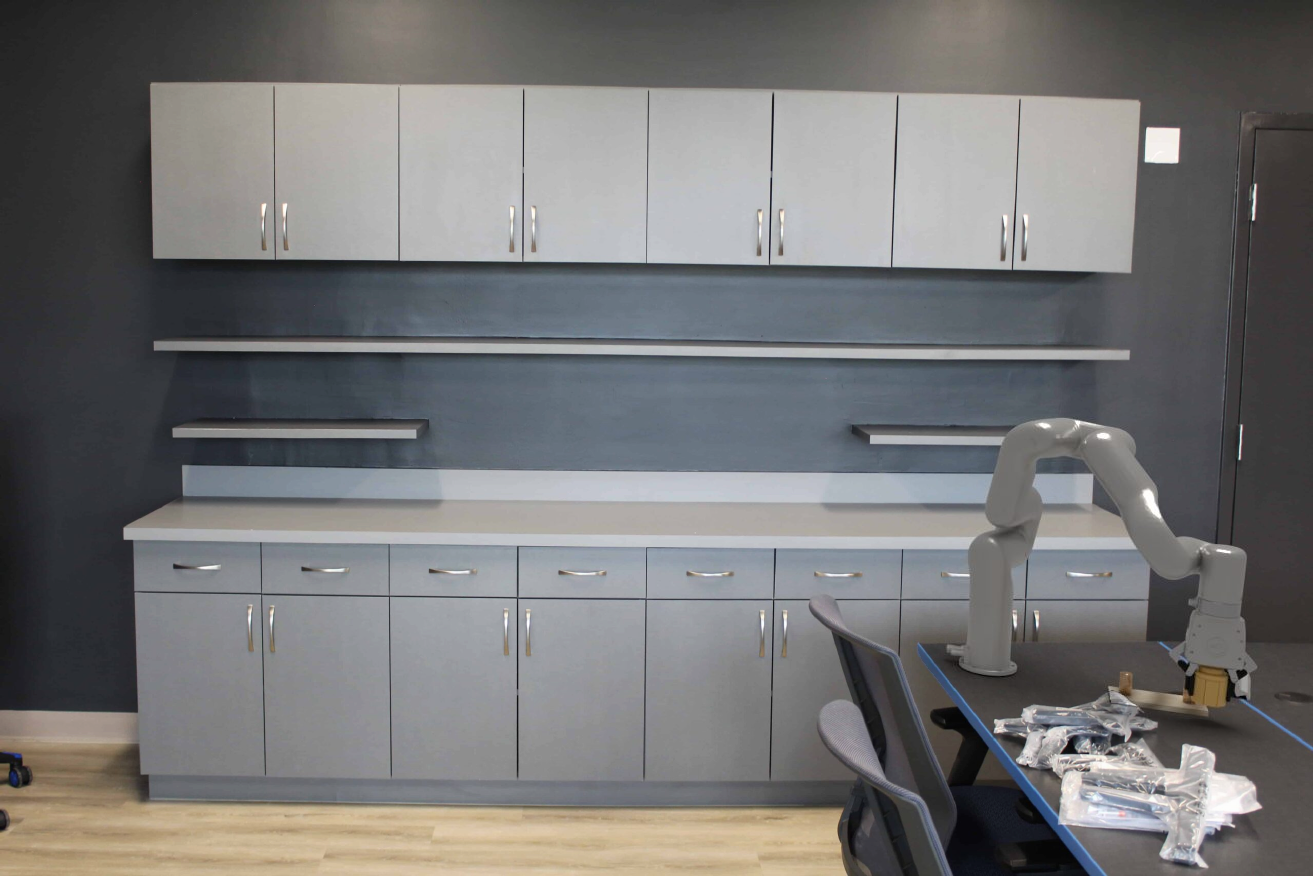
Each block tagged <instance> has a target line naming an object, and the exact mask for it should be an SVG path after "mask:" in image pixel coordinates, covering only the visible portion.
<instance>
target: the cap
mask: <svg viewBox="0 0 1313 876" xmlns="http://www.w3.org/2000/svg"><path fill="white" fill-rule="evenodd" d="M1228 676H1229V675H1228V674H1227V673H1226V672H1224V669H1223V668H1216V667H1209V666H1202V665H1198V666H1197V668H1196V669H1195V671H1194V677H1195V684H1194V693H1193V696H1191V699H1192V701H1194V702H1196V703H1199V704H1201V705H1205V706H1206V707H1211V708H1222V707H1226V703H1227V701H1226V693H1227V685H1228Z"/></svg>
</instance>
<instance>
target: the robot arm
mask: <svg viewBox="0 0 1313 876" xmlns="http://www.w3.org/2000/svg"><path fill="white" fill-rule="evenodd" d="M1136 452H1137V446H1136V442H1135V439H1134V438H1133V437H1132V435H1131V434H1130V433H1129V432H1127V431H1125V430H1123V429H1121V428H1119V427H1113V426H1108V425H1102V424H1098V423H1094V422H1089V421H1088V422H1087V421H1084V420H1080V419H1073V418H1070V417H1055V418H1043V419H1035V420H1031V421H1026V422H1024V423H1020V424H1017V425H1016V426H1015V427H1014V428H1012V429H1010V431H1008V433H1007V434H1006V435H1005V437H1004V438H1003V440H1002V442H1001V446H1000V449H999V452H998V456H997V461H996V466H995V468H994V472H993V475H992V478H991V483H990V485H989V489H988V493H987V497H986V501H985V505H984V514H985V518H986V520H987V521H988V522H989V524H991V526H994V527H995V528H994V529H992V530H989V531H985V532H983V533H981V534H979V535H977V536H976V537H975V538H974V539H973V540H972V542H971V543H970V545H969V547H968V551H967V562H968V572H969V573H968V574H969V594H968V595H969V597H968V598H969V599H968V600H969V601H968V620H967V636H966V637H967V639H966V642H965V644H961V646H958V645H954V644H946V653H947V654H950V655H951V656H955V657H960V658H959V661H958V664H959V666H960V667H961V668H962V669H964V670H966V671H968V672H971V673H975V674H978V675H979V674H980V675H982V676H983V675H984V676H993V677H1002V676H1010V675H1013V674H1015V673H1016V672H1017V671H1018V670H1017V669H1018V665H1017V663H1016V662H1014V661H1012V660H1011V652H1012V651H1011V649H1012V630H1013V618H1014V617H1013V614H1014V583H1013V577H1012V569H1014V568H1017V567H1020V566H1021V565H1023V564H1024V563H1025V562H1026V561H1027V560H1028V559H1029V557H1030V556H1031V554H1032V551H1033V548H1034V545H1035V540H1036V537H1037V533H1038V529H1039V526H1040V523H1041V519H1042V515H1043V510H1044V508H1043V507H1044V505H1043V499H1042V496H1041V494H1040V492H1039V491H1038V490H1037V489H1036V488H1035V487H1034V486H1033V483H1034V481H1035V478H1036V471H1037V462H1038V461H1039V460H1040V459H1048V458H1049V459H1051V458H1059V457H1068V458H1073V459H1078V460H1082V461H1083V462H1084V463H1085V464H1086V466H1087V467H1088V469H1089V470H1090V471H1091V473H1092V474H1093V476H1094V477H1095V478H1096V480H1097V481H1098V482H1099V483H1100V485H1101V486H1102V487H1103V489H1104V490H1105V492H1106V493H1107V494H1108V497H1110V499H1111V500H1112V502H1113V503H1114V505H1115V506H1116V507H1117V509H1118V511H1119V515H1120V518H1121V521H1122V522H1123V526H1125V527H1124V528H1125V530H1126V533H1127V534H1128V536H1129V538H1130V540H1131V541H1132V543H1133V545H1134V546H1135V548H1136V549H1137V550H1138V552H1139V554H1140V555H1141V557H1142V558H1143V559H1144V561H1145V562H1146V563H1147V565H1149V567H1150V568H1151V569H1152V571H1154V572H1155V573H1156V574H1157V575H1158V576H1159V577H1162V578H1164V579H1166V580H1172V581H1177V580H1181V579H1184V578H1186V577H1188V576H1191V575H1199V582H1198V592H1197V595H1196V597H1195V598H1189V599H1188V606H1192V607H1194V608H1195V609H1193V610H1192V612H1191V614H1190V617H1189V621H1188V624H1187V627H1186V633H1185V637H1184V641H1182V642H1181V643H1180V644H1178V645H1177V646H1175V647H1174V648H1173V649H1171V650H1170V651H1168V655H1169V657H1170V658H1171V659H1172V660H1173V661H1174V662H1175V663H1176V665H1178V666H1179V668H1181V670H1182V671H1183V672H1184V673H1185V677H1184V680H1185V684H1184V683H1183V689H1185V690H1187V692H1188V695H1189V696H1193V693H1194V684H1195V677H1194V671H1195V669H1196V668H1197V667H1199V665H1202V666H1209V667H1216V668H1223V669H1227V671H1228V674H1229V676H1228V685H1227V693H1226V703H1230V702H1231V700H1232V699H1231V698H1234V697H1235V695H1234V693H1235V684H1236V683H1237V682H1238V680H1240V679H1241V678H1243V677H1245V676H1246V675H1247V674H1248V673H1249V674H1250V673H1252V672H1254V671H1256V670H1257V669H1258V665H1257V664H1256V662H1255V661H1254V660H1253V659H1252V657H1250V655H1249V654H1248V653H1247V652H1246V636H1247V635H1246V621H1245V619H1244V618H1243V617H1242V616H1241V612H1242V611H1241V610H1242V601H1243V594H1244V587H1245V586H1244V584H1245V579H1246V578H1245V577H1246V569H1247V568H1246V567H1247V558H1248V557H1247V553H1246V552H1245V550H1244V549H1242V548H1240V547H1238V546H1234V545H1228V544H1219V543H1218V544H1215V543H1212V542H1207V541H1204V540H1201V539H1198V538H1195V537H1192V536H1184V535H1183V536H1178V537H1176V535H1175V534H1174V533H1173V532H1172V530H1171V528H1170V527H1169V526H1168V524H1167V522H1166V521H1165V519H1164V518H1163V516H1162V513H1161V510H1160V507H1159V492H1158V488H1157V485H1156V484H1155V482H1154V481H1153V480H1152V478H1151V477H1150V476H1149V474H1148V473H1147V472H1146V470H1145V469H1144V468H1143V466H1142V465H1141V464H1140V462H1139V461H1138V460H1137V458H1136V457H1135V456H1136ZM1181 654H1184V658H1185V659H1186V660H1187V662H1186V661H1185V660H1184V659H1183V658H1182V657H1181V656H1180V655H1181ZM1235 670H1236V671H1235Z"/></svg>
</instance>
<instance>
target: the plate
mask: <svg viewBox="0 0 1313 876" xmlns="http://www.w3.org/2000/svg"><path fill="white" fill-rule="evenodd" d="M1107 690H1108V691H1111V690H1114V691H1117V692H1119V686H1111V685H1108V687H1107ZM1108 691H1107V692H1108ZM1125 697H1126V698H1127V699H1128V700H1130V701H1131V702H1132V703H1135V704H1137V705H1138V706H1140V707H1139V708H1143V709H1149V710H1157V711H1163V712H1170V713H1171V712H1173V713H1178V714H1179V713H1180V714H1183V715H1184V714H1186V715H1191V716H1198V717H1199V716H1200V717H1209V709H1208V706H1205V705H1201V704H1199V703H1196V704H1194V705H1191V704H1186V703H1184V702H1183V695H1180V694H1179V695H1178V694H1172V693H1164V692H1157V691H1149V690H1141V689H1133V688H1132V693H1131V696H1125Z"/></svg>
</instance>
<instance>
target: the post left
mask: <svg viewBox="0 0 1313 876" xmlns="http://www.w3.org/2000/svg"><path fill="white" fill-rule="evenodd" d="M1133 676H1134V674H1133V672H1130V671H1126V670H1125V671H1124V670H1123V671H1120V672H1119V683H1118V685H1119V686H1118V687H1119V693H1121V694H1122V695H1124V696H1131V693H1132V689H1133V678H1134V677H1133Z"/></svg>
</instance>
